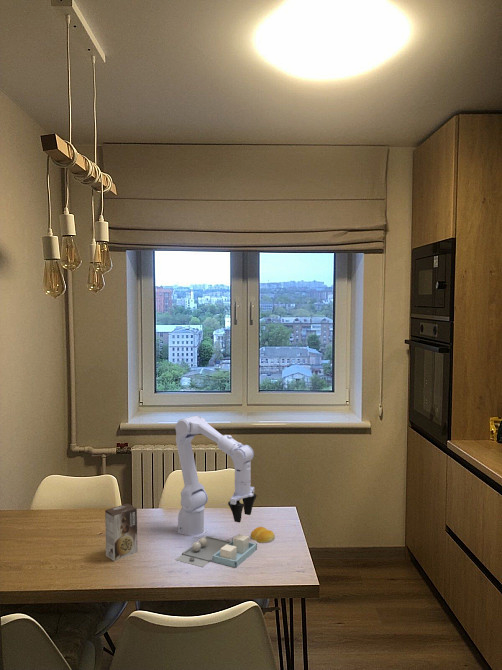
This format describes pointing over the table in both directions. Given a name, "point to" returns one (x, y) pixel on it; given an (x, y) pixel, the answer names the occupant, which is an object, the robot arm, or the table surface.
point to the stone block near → (228, 552)
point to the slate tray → (203, 552)
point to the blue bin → (240, 556)
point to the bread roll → (262, 535)
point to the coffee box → (121, 531)
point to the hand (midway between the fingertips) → (242, 518)
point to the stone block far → (241, 543)
